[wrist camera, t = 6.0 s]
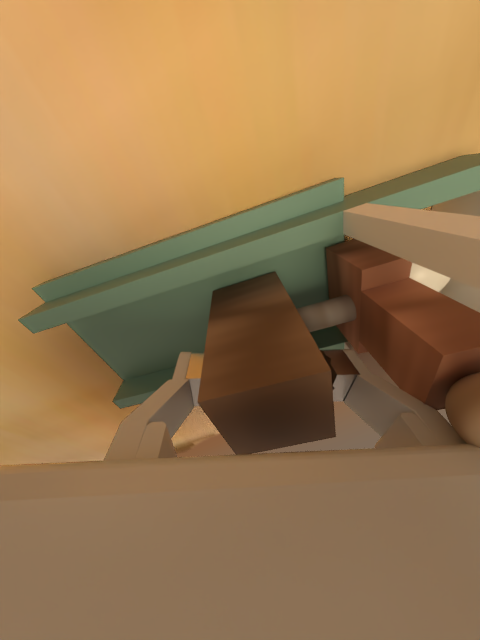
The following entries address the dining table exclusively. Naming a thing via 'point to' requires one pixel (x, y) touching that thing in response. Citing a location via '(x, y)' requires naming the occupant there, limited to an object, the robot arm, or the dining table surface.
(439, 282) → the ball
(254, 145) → the dining table surface
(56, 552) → the robot arm
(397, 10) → the dining table surface
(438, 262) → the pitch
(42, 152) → the dining table surface
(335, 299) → the brown lever
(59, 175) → the dining table surface
